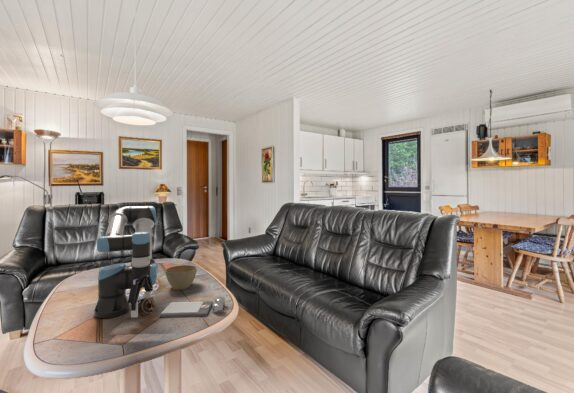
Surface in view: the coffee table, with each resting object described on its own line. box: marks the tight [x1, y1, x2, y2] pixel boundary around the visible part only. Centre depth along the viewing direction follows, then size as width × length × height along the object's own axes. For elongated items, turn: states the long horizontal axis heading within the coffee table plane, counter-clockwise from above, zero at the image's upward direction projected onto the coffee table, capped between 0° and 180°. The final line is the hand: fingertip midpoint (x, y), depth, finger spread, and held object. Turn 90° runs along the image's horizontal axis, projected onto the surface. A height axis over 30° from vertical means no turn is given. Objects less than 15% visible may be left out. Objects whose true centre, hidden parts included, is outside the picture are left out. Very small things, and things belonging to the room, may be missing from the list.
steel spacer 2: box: [212, 301, 224, 315], centre depth 137 cm, size 5×5×4 cm
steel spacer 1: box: [214, 296, 226, 308], centre depth 144 cm, size 5×5×4 cm
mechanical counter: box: [137, 296, 158, 318], centre depth 130 cm, size 7×13×10 cm, turn 78°
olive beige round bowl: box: [165, 264, 198, 291], centre depth 171 cm, size 18×18×12 cm
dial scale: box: [158, 300, 214, 318], centre depth 139 cm, size 22×15×2 cm
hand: (141, 310), depth 130 cm, fingers open, 13 cm apart
